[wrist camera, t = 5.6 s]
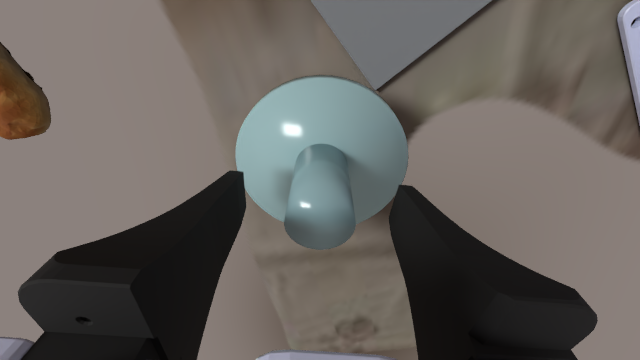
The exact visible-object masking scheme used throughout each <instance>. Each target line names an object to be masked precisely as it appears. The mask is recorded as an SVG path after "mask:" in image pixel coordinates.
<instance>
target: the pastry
mask: <svg viewBox="0 0 640 360" xmlns="http://www.w3.org/2000/svg"><path fill="white" fill-rule="evenodd" d="M50 123H51V115H50V107H49V102H48V99H47V97H46V96H45V94H44V93H43V91H42V87H40V86H39V85H37V84H36V83H35V82H34V78H33V77H32V76H31V74H30V73H28V72H26V71H25V70H23V69H22V68H21V66H20V65H19V64H18V63H17V62H16V61H15V60H14V58H13V57H12V56H11V53H10V51H9V50H8V49H7V48H6V47H5V46H4V45H2V44H1V42H0V136H1V137H3V138H5V139H11V140H12V139H19V138H27V137H31V136H35V135H39V134H42V133H44V132H46V130H47V129H48V128H49V126H50Z"/></svg>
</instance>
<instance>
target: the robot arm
mask: <svg viewBox="0 0 640 360" xmlns="http://www.w3.org/2000/svg"><path fill="white" fill-rule="evenodd" d="M635 18H636V21H635V23H634V24H633V25H632V26H631V23H632V21H633V20H634V19H635ZM617 21H618V26H619V30H620V35H621V40H622V44H623V49H624V54H625V58H626V63H627V68H628V73H629V77H630V82H631V87H632V91H633V96H634V101H635V105H636V110H637V115H638V119H639V124H640V0H633V1H631V2H630V3H628V4H627V5H626V6H624V7H623V8H622V10H621V11H620V12H619V14H618V18H617ZM245 209H246V198H245V185H244V173H243V172H241V171H229V172H227V173H226V174H224V175H223V176H222V177H220V178H219V179H218V180H216V181H215V182H213V183H212V184H211V185H209V186H208V187H207V188H205V189H204V190H202V191H201V192H200V193H198V194H196V195H195V196H193V197H192V198H190V199H189V200H187V201H185V202H184V203H182V204H180V205H179V206H177V207H175V208H174V209H172V210H170V211H168V212H166V213H164V214H162V215H160V216H158V217H156V218H154V219H151V220H149V221H147V222H145V223H142V224H140V225H138V226H135V227H133V228H131V229H128V230H125V231H123V232H120V233H117V234H115V235H112V236H109V237H106V238H103V239H100V240H97V241H94V242H90V243H87V244H83V245H80V246H77V247H73V248H70V249H66V250H62V251H59V252H57V253H56V254H55V255H54V256H53V257H52V258H51V259H49V260H48V261H47V262H46V263H45V264H44V265H43V266H42V267H41V268H40V269H39V270H38V271H37V272H35V273H34V274H33V275H32V276H31V277H30V278H29V279H28V280H27V281H26V282H25V283H24V284H22V285H21V287H20V289H19V291H18V296H19V301H20V303H21V305H22V306H23V308H24V309H25V310H26V311H27V312H28V314H29V315H30V316H31V317H32V318H33V319H34V320H35V321H36V322H37V324H38V325H39V326H40V327H41V328H42V329H43V330H44V331H45V332H44V333H43V334H42V335H41V336H40V338H39V339H38V340H37V341H36V342H35V343H34V342H32V341H30V340H27V339H22V338H10V337H0V360H197V356H198V352H199V347H200V344H201V340H202V336H203V332H204V329H205V325H206V321H207V317H208V314H209V310H210V307H211V304H212V300H213V296H214V293H215V290H216V287H217V284H218V280H219V277H220V274H221V272H222V269H223V266H224V263H225V261H226V259H227V257H228V255H229V252H230V250H231V248H232V245H233V243H234V241H235V238H236V236H237V234H238V231H239V229H240V227H241V224H242V220H243V217H244V213H245ZM389 224H390V230H391V236H392V240H393V243H394V247H395V250H396V253H397V257H398V260H399V263H400V266H401V269H402V273H403V276H404V279H405V283H406V287H407V292H408V297H409V302H410V307H411V313H412V319H413V325H414V331H415V338H416V345H417V352H418V360H578V359H577V358H576V357H575V355H574V354H573V352H572V351H571V349H572V348H573V347H574V346H575V345H577V344H578V343H579V342H580V341H582V340H583V339H584V338H585V337H587V336H588V335H589V334H590V333H591V332H592V331H593V330H594V328H595V326H596V324H597V315H596V313H595V312H594V311H593V310H592V309H591V308H590V306H589V305H588V304H587V303H586V302H585V300H584V299H583V298H582V297H581V296H580V295H579V293H578V292H577V291H576V290H575V289H573V288H571V287H569V286H566V285H564V284H562V283H559V282H557V281H555V280H552V279H550V278H548V277H545V276H543V275H541V274H539V273H536V272H534V271H533V270H530V269H528V268H527V267H525V266H522V265H520V264H519V263H517V262H515V261H513V260H511V259H509V258H507V257H506V256H504V255H502V254H500V253H499V252H497V251H495V250H493V249H492V248H490V247H488V246H487V245H485V244H484V243H482V242H481V241H479V240H478V239H476V238H475V237H473V236H472V235H470V234H469V233H467V232H466V231H465V230H463V229H462V228H460V227H459V226H458V225H457V224H456V223H454V222H453V221H452V220H450V219H449V218H448V217H447V216H446V215H444V214H443V213H442V212H441V211H440V210H439V209H437V208H436V207H435V206H434V205H433V204H432V203H431V202H430V201H428V200H427V199H426V198H425V197H424V196H423V195H422V194H421V193H420V192H418V191H417V190H416V189H415V188H414V187H412V186H407V185H399V186H398V189H397V192H396V196H395V199H394V202H393V206H392V209H391V212H390V216H389ZM255 360H396V359H395V358H390V357H385V356H380V355H369V354H354V353H338V352H322V351H306V350H276V351H271V352H268V353H266V354H264V355H261V356H259V357H258V358H257V359H255Z"/></svg>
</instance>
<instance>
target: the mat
mask: <svg viewBox="0 0 640 360" xmlns="http://www.w3.org/2000/svg"><path fill="white" fill-rule="evenodd" d="M490 1H492V0H311V2H312V3H313V4H314V6H315V7H316V9H317V10H318V11H319V13H320V14H321V16H322V17H323V18H324V20H325V21H326V23H327V24H328V25H329V27H330V28H331V30H332V31H333V32H334V34H335V35H336V37H337V38H338V39H339V41H340V42H341V44H342V45H343V46H344V48H345V49H346V51H347V52H348V53H349V55H350V56H351V58H352V59H353V61H354V62H355V63H356V65H357V66H358V68H359V69H360V70H361V72H362V73H363V75H364V76H365V77H366V79H367V80H368V82H369V83H370V84H371V86H372V87H373V89H374V90H377V89H378V88H379V87H380V86H382V85H383V84H384V83H386V82H387V81H388V80H390V79H391V78H392V77H393V76H395V75H396V74H397V73H399V72H400V71H401V70H402V69H404V68H405V67H406V66H408V65H409V64H410V63H412V62H413V61H414V60H415V59H417V58H418V57H419V56H421V55H422V54H423V53H424V52H426V51H427V50H428V49H430V48H431V47H432V46H433V45H435V44H436V43H437V42H439V41H440V40H441V39H443V38H444V37H445V36H446V35H448V34H449V33H450V32H452V31H453V30H454V29H455V28H457V27H458V26H459V25H461V24H462V23H463V22H465V21H466V20H467V19H468V18H470V17H471V16H472V15H474V14H475V13H476V12H477V11H479V10H480V9H481V8H483V7H484V6H485V5H486V4H488V3H489V2H490Z"/></svg>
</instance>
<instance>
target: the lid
mask: <svg viewBox="0 0 640 360" xmlns="http://www.w3.org/2000/svg"><path fill="white" fill-rule="evenodd" d="M236 164H237V170H238V171H241V172H243V173H244V185H245V189H246V191H247V192H248V194H249V195H250V197H251V198H252V199H253V200H254V201H255V202H256V203H257V204H258V205H259V206H260V207H261V208H262V209H263V210H264V211H266V212H267V213H268V214H270V215H271V216H273V217H275V218H276V219H278V220H280V221H283V222H284V226H285V229H286V232H287V234H288V235H289V236H290V238H291V239H292V240H294V241H295V242H296V243H298V244H300V245H302V246H304V247H307V248H311V249H318V250H323V249H330V248H334V247H337V246H339V245H341V244H343V243H345V242H346V241H347V240H348V239H349V238H350V237H351V236H352V234H353V232H354V230H355V226H356V224H358V223H360V222H362V221H365V220H367V219H369V218H370V217H372V216H373V215H375V214H377V213H378V212H379V211H380V210H382V209H383V208H384V207H385V206H386V205H387V204H388V203H389V202H390V201H391V200H392V198H393V197H394V196H395V195H396V192H397V189H398V186H399V185H401V184H402V182H403V179H404V177H405V174H406V170H407V165H408V145H407V140H406V136H405V133H404V131H403V128H402V126H401V124H400V122H399V120H398V119H397V117H396V115H395V114H394V112H393V110H392V109H391V108H390V107H389V105H388V104H387V103H386V102H385V101H384V100H383V99H382V98H381V97H380V96H379V95H378V94H376V93H375V92H374V91H372V90H371V89H369V88H368V87H366V86H364V85H362V84H360V83H358V82H356V81H353V80H350V79H347V78H343V77H338V76H332V75H313V76H305V77H301V78H296V79H293V80H291V81H288V82H285V83H283V84H281V85H279V86H278V87H276V88H274V89H272V90H271V91H270V92H268V93H267V94H266V95H265V96H263V97H262V98H261V99H260V100H259V102H258V103H257V104H256V105H255V106H254V108H253V109H252V110H251V112H250V113H249V115H248V116H247V117H246V119H245V121H244V123H243V125H242V127H241V129H240V132H239V135H238V138H237V144H236Z"/></svg>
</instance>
